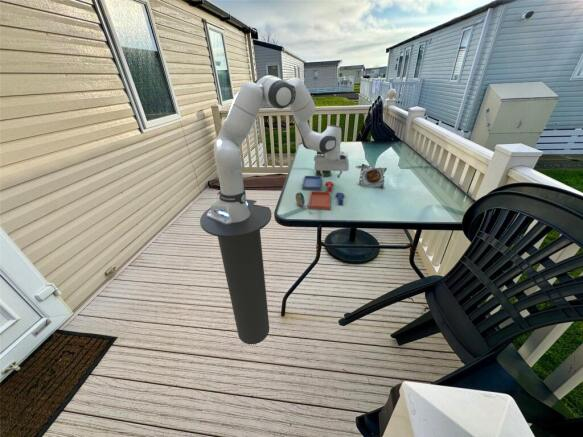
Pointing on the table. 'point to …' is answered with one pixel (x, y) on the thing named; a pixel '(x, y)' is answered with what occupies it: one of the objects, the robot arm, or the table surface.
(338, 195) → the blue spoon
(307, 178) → the blue tray
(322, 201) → the red tray
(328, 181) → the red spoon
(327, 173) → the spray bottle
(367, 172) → the meal
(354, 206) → the table surface
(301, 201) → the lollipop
